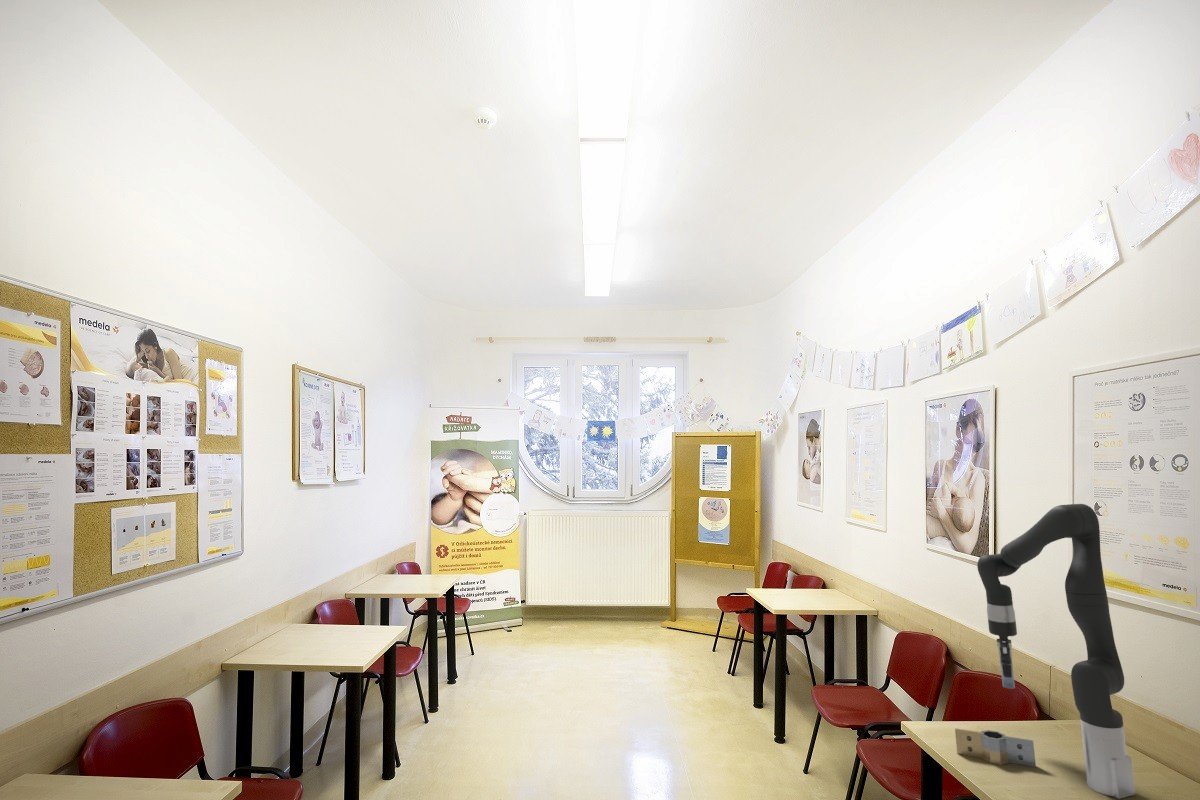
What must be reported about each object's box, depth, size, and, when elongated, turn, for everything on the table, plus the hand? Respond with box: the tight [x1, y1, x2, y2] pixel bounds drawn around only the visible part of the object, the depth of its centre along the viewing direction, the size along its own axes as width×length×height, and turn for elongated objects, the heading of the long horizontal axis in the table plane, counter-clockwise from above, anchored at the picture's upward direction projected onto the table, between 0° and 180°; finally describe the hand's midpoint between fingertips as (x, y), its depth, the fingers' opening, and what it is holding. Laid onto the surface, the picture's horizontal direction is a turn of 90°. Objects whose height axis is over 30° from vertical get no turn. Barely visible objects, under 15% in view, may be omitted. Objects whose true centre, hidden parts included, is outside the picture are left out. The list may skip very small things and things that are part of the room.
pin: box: [999, 656, 1016, 690], centre depth 200 cm, size 3×3×12 cm
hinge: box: [954, 727, 1037, 768], centre depth 188 cm, size 20×6×7 cm, turn 60°
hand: (1007, 674), depth 200 cm, fingers closed on pin, 3 cm apart
